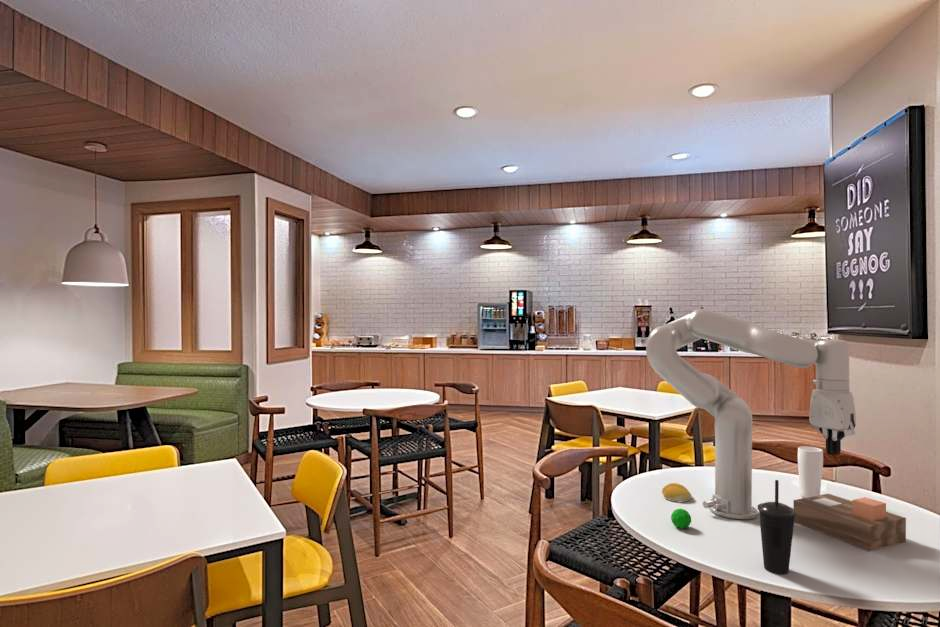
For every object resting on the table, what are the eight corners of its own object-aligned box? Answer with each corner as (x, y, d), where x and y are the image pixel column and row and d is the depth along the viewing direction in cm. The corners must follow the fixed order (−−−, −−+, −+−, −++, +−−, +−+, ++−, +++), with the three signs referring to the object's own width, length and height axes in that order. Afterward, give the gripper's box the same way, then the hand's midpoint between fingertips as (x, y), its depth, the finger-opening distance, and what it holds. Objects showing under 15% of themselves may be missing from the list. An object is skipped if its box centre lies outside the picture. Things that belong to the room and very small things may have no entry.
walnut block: (869, 551, 136) (869, 526, 136) (793, 521, 154) (793, 500, 154) (905, 541, 141) (905, 517, 141) (828, 514, 160) (828, 493, 160)
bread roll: (665, 502, 171) (665, 489, 170) (660, 492, 179) (660, 480, 179) (694, 504, 169) (694, 490, 169) (687, 494, 178) (688, 481, 178)
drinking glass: (827, 501, 171) (828, 451, 171) (805, 501, 171) (805, 451, 171) (814, 493, 178) (814, 446, 177) (792, 493, 178) (793, 446, 178)
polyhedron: (674, 522, 154) (674, 505, 154) (693, 526, 151) (693, 508, 151) (668, 528, 150) (668, 510, 150) (688, 532, 147) (688, 514, 147)
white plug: (829, 521, 150) (829, 506, 150) (811, 514, 154) (811, 500, 154) (842, 518, 152) (842, 503, 151) (824, 512, 156) (824, 497, 156)
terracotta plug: (873, 522, 139) (873, 506, 139) (852, 515, 144) (852, 499, 144) (886, 519, 141) (886, 503, 141) (865, 512, 146) (865, 497, 146)
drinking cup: (804, 574, 124) (804, 483, 124) (776, 579, 122) (776, 487, 121) (776, 559, 131) (776, 474, 131) (749, 564, 129) (749, 476, 129)
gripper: (797, 383, 157) (797, 449, 157) (852, 390, 143) (852, 462, 143) (815, 381, 160) (815, 446, 160) (870, 388, 146) (871, 459, 146)
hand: (833, 454), depth 151 cm, fingers closed
